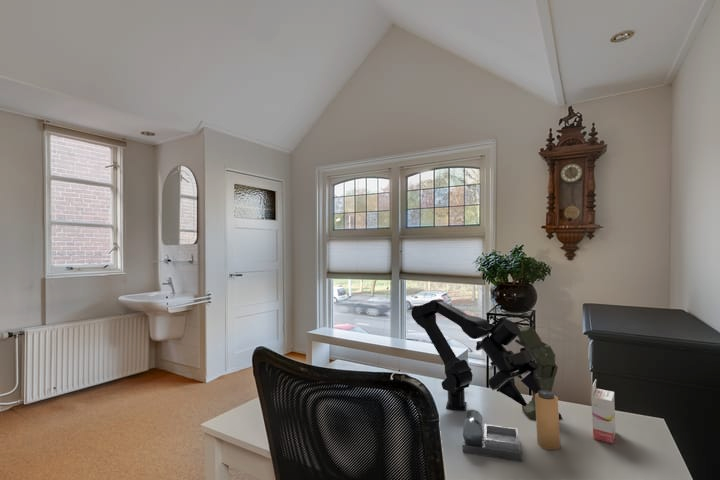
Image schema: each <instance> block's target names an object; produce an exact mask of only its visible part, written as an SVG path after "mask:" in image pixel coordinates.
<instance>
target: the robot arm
mask: <svg viewBox="0 0 720 480" xmlns="http://www.w3.org/2000/svg"><path fill="white" fill-rule="evenodd" d="M437 314H439V315H441V316H443V317H444V318H446V319H448V320H449V321H451V322H453V323H454V324H456V325H458V326H459V327H460V329H461V330H462V332H463V333H464V334H465V335H467V336H468V337H469V338H470V339H472V340H476V339H481V338H483V339H482V340H478V341H476V346H475V350H476V351H480V350H483V352H484V353H485V354H486V356H488V358H489V360H490V361H491V362H490V365H491V367H494V366H495V368H496V369H497V370H498V371H497V372H495V374H493V376H491V377H490V378H489V379H488V386H489V388H490V389H491V390H492V391H495V390H496V392H497V393H498V392H499V393H501V394H503V395H504V396H506V397H508V398H510V399H512V400H513V401H515V402H516V403H518V404H519V405H521V407H522V406H526V405H527V404H528V403H527V402H526V400H525V398H524V397H523V395H522V394H521V392H520V391H519V389H518V388H517V386H516V382H515V378H517V377H518V378H519V379H520V382H522V384H523V385H524V386H526V387H527V388H528V389H529V390H531V391H532V393H533V392H534V393H535V394H536V393H538V391H540V390H541V387H540V385H539V383H538V380H537V377H536V376H537V371H538V369H537V368H538V367H539V366H538V365H537V364H536V361H535V360H534V359H533V358H532V357H533V354H534V353H533V352H532V351H531V350H530V349H529V348H528V347H521V348H519V352H515V353H514V352H513V351H512V350H507V348H506V347H505V346H509V344H511V343H512V342H513V341H515V340H516V338H518V335H519V334H520V329H519V328H520V327H519V326H518V324H516V323H514V322H513V321H512V320H510V319H508V318H506V317H505V316H502V317H500V318H499V319H498V320H497V322H496V323H495V324H493V323H490V322H489V321H488V320H487V319H485V318H482V317H479V316H475V315H470V314H467V313H465V312H464V311H462V310H460V309H459V308H457V307H455V306H453V305H451V304H449V303H448V302H446V301H444V299H442V298H438V299H436V298H435V299H432V300H430V301H428V302H426V303H423V304H419V305H414V306H413V307H412V309H411V314H410V316H411V317H412V319H413V320H414V321H415V323H416V324H417V325H418V326H419V327H421V328H423V330H424V331H425V332H426V335H427V336H428V338H429V339H430V342H431V343H432V345H433V347H434V348H435V350H436V352H437V353H438V355H439V357H440V359H441V360H442V362H443V364H444V374H445V376H446V378H445V379H443V381H442V382H441V383H440V384H441V387H442V390H444V391H447V402H446V406H445V409H448V410H455V411H464V412H465V411H467V404H468V403H467V401H465V400H466V399H465V396H466V395H465V389H466V388H469V387H470V385H471V384H470V383H472V381H473V377H474V376H473V372H472V370H473V369H472V368H471V367H470V365H468V362H467V360H466V359H464V358H463V359H459V358H458V357H457V355H456V354H455V352H454V350H453V349H452V347H451V346H450V343H449V342H448V340H447V339H446V337H445V335H444V334H443V332H442V331H441V329H440V327H439V326H438V324H437Z"/></svg>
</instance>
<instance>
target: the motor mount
mask: <svg viewBox="0 0 720 480" xmlns="http://www.w3.org/2000/svg"><path fill="white" fill-rule="evenodd" d="M463 422H464V424H463V431H462V435H463V436H462V453H465V454H469V455H470V454H471V455H477V456H483V457H489V458H496V459H501V460H508V461H509V460H510V461H516V462H519V463H520V462H522V450H521V449H522V448H521V441H520V434H519V430H518V427H510V426H509V427H508V426H502V425H494V424H487V423H484V426H483V417H482V414H481V413H480V412H479V411H478V410H476V409H469V410H466V412H465V415H464V421H463Z"/></svg>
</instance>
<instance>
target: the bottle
mask: <svg viewBox="0 0 720 480" xmlns="http://www.w3.org/2000/svg"><path fill="white" fill-rule="evenodd" d="M535 404H536V418H535V422H536V441H537V445H538V446H539V447H541V448H542V449H545V450H550V451H557V450H559V449H560V448H561V434H560V419H559V413H560V412H559V411H560V410H559V397H558V396H557V395H555V392H553V391H552V392H551V391H547V390H540V391H538V393H536V394H535Z"/></svg>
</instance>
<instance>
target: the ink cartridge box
mask: <svg viewBox="0 0 720 480" xmlns="http://www.w3.org/2000/svg"><path fill="white" fill-rule="evenodd" d="M615 408H616V407H615V391H612V390H605V389H601V388H597V379H596V378H595V379H594V381H593V383H592V385H591V415H592V419H591V420H592V434H593V437H592V438H593V440H598V441H601V442H606V443H609V444H614V442H615V441H614V440H615V437H616V432H617V429H616V412H615V411H616V409H615Z"/></svg>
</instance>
